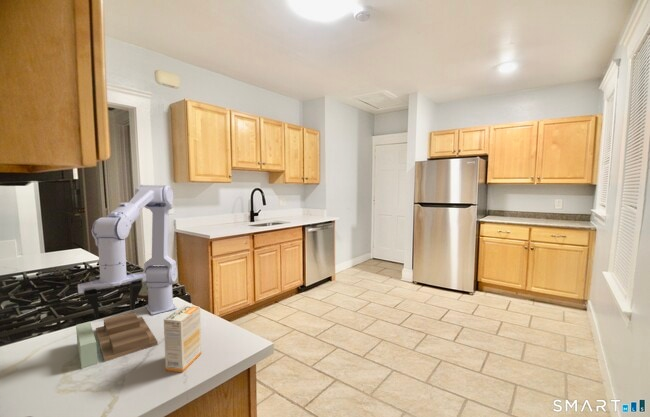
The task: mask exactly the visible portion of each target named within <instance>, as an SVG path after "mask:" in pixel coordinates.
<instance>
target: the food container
mask: <svg viewBox="0 0 650 417" xmlns="http://www.w3.org/2000/svg"><path fill="white" fill-rule="evenodd" d="M141 273H143V271H139V272H135V273H131V274H141ZM131 274H129V275H131ZM142 284H143V286H142V289H141V290H140V292H139V294H138V297H137V298H144V299H145V300H146V301H148V287H149V286H147V284H145V283H144V282H142Z"/></svg>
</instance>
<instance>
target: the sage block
mask: <svg viewBox="0 0 650 417" xmlns="http://www.w3.org/2000/svg"><path fill="white" fill-rule="evenodd" d="M75 327H76V342H77V343H76V345H77V350H78V356H79V361H80V362H79V363H80V367H81V370H83V369H86V368H89V367H92V366H96V365H98V356H97V341H96V337H95V333H94V330H93V327H92V324H91V321H87V322H83V323H78V324H75Z"/></svg>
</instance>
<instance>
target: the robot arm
mask: <svg viewBox="0 0 650 417" xmlns="http://www.w3.org/2000/svg"><path fill="white" fill-rule="evenodd" d="M173 207H174V192H173V189H172V187H171V186H170V185H169V184H165V185H161V184H160V185H157V184H154V185H153V184H151V185H150V184H138V186H137V187H135V189H134V195H133V197H132V198H131V199H130V200H129V201H128V202H127V201H126V202H125V201H124V202H120V203H118V206H117V207H115V208H114V209H113V210H112V211H111V212H110V213H109V214H107V215H106V217H98V219H96V220H95V221H94V222H93V224H92V228H91V235H92V237H93V239H94V241H95V246H96V247H97V248H98V263H99V266H98V267H99V279H95V280H91V281H87V282H83V283H78V284H77V292H78V295H80V294H81V295H82V294H84V297H85V298H86V300H87V302H88V303H89V304H90V306H91V308H92V310H93V314H94V317H95V319H96V320H97V319H99V318H100V310H99V294H98V290H103V289H108V288H115V287H119V286H124V285H128V291H129V309H130V310H131V311H135V308H136V302H137V301H136V300H137V297H138V294H139V292H140V290H141V289H142V286H143V284H142V282H144V283H145V284H147V286H149V287H148V302H147V304H146V305H144V306H145V308H146V309H147V311H148V312H149V314H150V316H151V315H153V316H154V315H157V314H160V313H161V314H162V313H164V312H169V311H172V310H176V309H177V306H176V305H175V304H174V303H173V300H174V299H173V284H174V283H175V282H176V280H177V277H178V267H177V261H176V260H175V259H173V258H172V257H170V256H169V213H170V212H169V211H170V210H172V209H173ZM143 208H145V209H148V210H150V212H151V213H152V217H151V218H152V222H151V224H152V226H151V227H152V228H151V229H152V230H151V232H152V233H151V257H150V258H149V259H147V261H145V263H144V265H143V270H142V272H143V273H141V274H133V273H131V275H130V274H127V256H126V255H127V254H126V252H127V251H126V238H128V237H129V235H130V231H131V228H132V225H133V224H134V223H135V222H136V221H137V219H138V218H140V215H141V212H140V211H141V210H142V209H143Z"/></svg>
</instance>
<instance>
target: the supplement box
mask: <svg viewBox="0 0 650 417" xmlns="http://www.w3.org/2000/svg"><path fill="white" fill-rule="evenodd" d="M201 325H202V324H201V307H200V306H197V305H195V306H194V305H183V306H181V307H180V308H179V309H177V310H175V311H174V312H173V313H171V314H169V315H168V316H166V317H165V318H163V329H164V358H165V370H166V371H169V372H175V373H176V372H178V373H184V372H185V371H186V370H187V369H188V368H189V367H190V366H191V364H192V363H194V362H195V360H196V359H197V358H198V357H199V356H200V355H201V354H202V332H201V330H202V329H201V328H202V327H201Z"/></svg>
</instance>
